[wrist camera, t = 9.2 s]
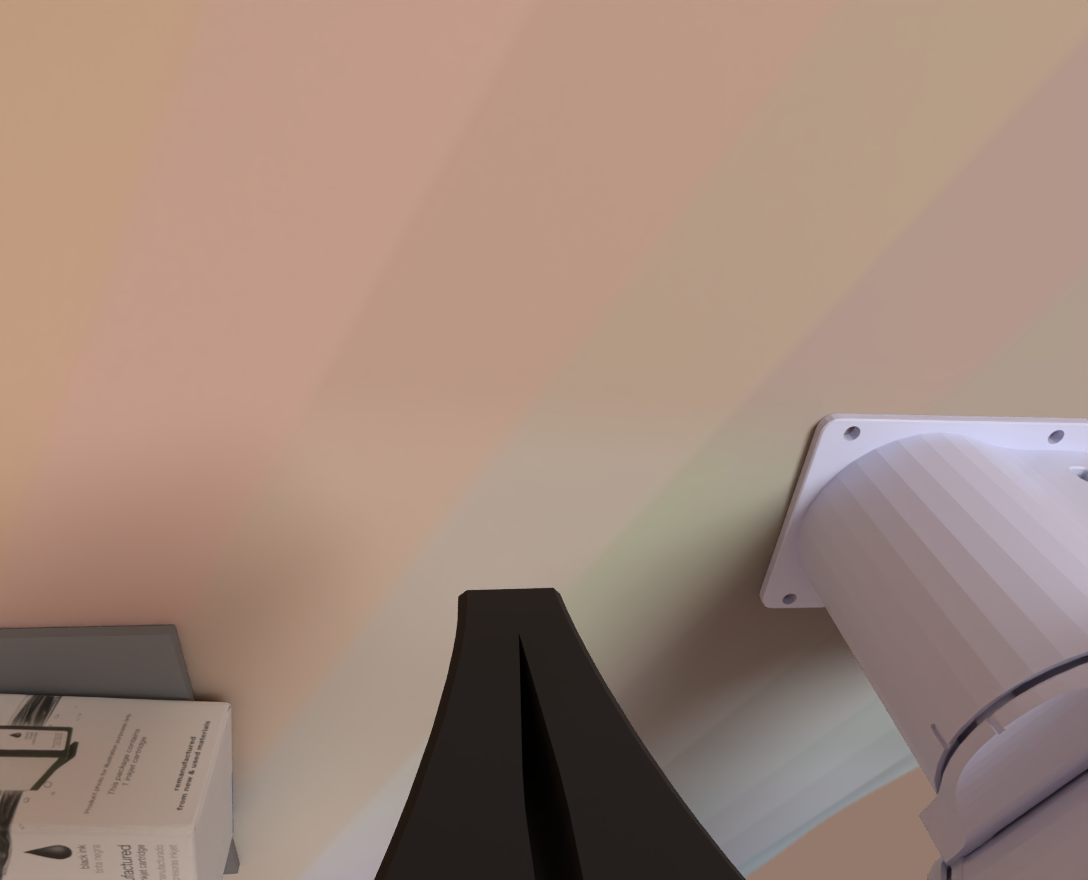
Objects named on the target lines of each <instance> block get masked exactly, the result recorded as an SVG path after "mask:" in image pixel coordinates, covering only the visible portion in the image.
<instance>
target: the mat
mask: <svg viewBox="0 0 1088 880" xmlns="http://www.w3.org/2000/svg"><path fill="white" fill-rule="evenodd" d="M0 694H26V695H46V696H77V697H104V698H125V699H151V700H180V701H195V698H194V694H193V691H192V687H191V683H190V680H189V676H188V672H187V669H186V665H185V661H184V658H183V654H182V650H181V647H180V643H179V639H178V636H177V632H176V628H175V625H158V626H110V627H63V628H15V629H0ZM239 865H240V863H239V859H238V855H237V852H236V848H235V844H234V841H233V837H232V840H231V844H230V848H229V852H228V857H227V861H226V865H225V869H224V873H223V874H236V873H238V869H239Z"/></svg>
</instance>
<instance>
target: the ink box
mask: <svg viewBox="0 0 1088 880" xmlns="http://www.w3.org/2000/svg"><path fill="white" fill-rule="evenodd" d="M232 835H233V781H232V716H231V704H230V703H229V702H209V701H180V700H151V699H125V698H104V697H77V696H46V695H26V694H0V880H222V877H223V873H224V869H225V865H226V861H227V857H228V852H229V848H230V844H231V840H232Z"/></svg>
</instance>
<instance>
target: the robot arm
mask: <svg viewBox="0 0 1088 880" xmlns="http://www.w3.org/2000/svg"><path fill="white" fill-rule="evenodd" d="M853 426H855V428H854V429H853V431H852V432H850V433H849V434H845V435H844V432H845V431H846V430H847V429H848V428H850V427H853ZM1054 431H1055V432H1054ZM1053 432H1054V433H1053ZM1051 433H1053V435H1051ZM1050 435H1051V436H1050ZM1087 452H1088V419H1084V418H1037V417H988V416H939V415H890V414H841V413H836V414H830V415H828V416H826V417H824V418H823V419H822V420H821V421H820V422H819V423H818V425H817V427H816V430H815V432H814V435H813V438H812V441H811V444H810V447H809V450H808V453H807V456H806V459H805V462H804V465H803V467H802V470H801V473H800V476H799V479H798V482H797V485H796V488H795V491H794V494H793V497H792V500H791V503H790V505H789V508H788V511H787V514H786V517H785V520H784V523H783V526H782V529H781V532H780V535H779V538H778V541H777V543H776V546H775V549H774V552H773V555H772V558H771V561H770V564H769V567H768V570H767V573H766V576H765V578H764V581H763V584H762V587H761V590H760V595H759V597H760V599H761V601H762V603H763V604H764V606H766V607H767V608H817V607H825V608H826V609H827V611H828V613H829V614H830V616H831V618H832V619H833V621H834V623H835V624H836V626H837V628H838V629H839V631H840V633H841V635H842V636H843V638H844V640H845V641H846V643H847V645H848V646H849V648H850V650H851V651H852V653H853V655H854V656H855V658H856V660H857V661H858V663H859V665H860V666H861V668H862V670H863V671H864V673H865V675H866V676H867V678H868V680H869V681H870V683H871V685H872V686H873V688H874V690H875V691H876V693H877V695H878V696H879V698H880V700H881V701H882V703H883V705H884V707H885V708H886V710H887V712H888V713H889V715H890V717H891V718H892V720H893V722H894V723H895V725H896V727H897V728H898V730H899V732H900V733H901V735H902V737H903V738H904V740H905V742H906V743H907V745H908V747H909V748H910V750H911V752H912V753H913V755H914V757H915V758H916V760H917V762H918V763H919V765H920V767H921V768H922V770H923V772H924V773H925V775H926V777H927V778H928V780H929V782H930V783H931V785H932V787H933V789H934V790H935V792H936V793H937V796H936V797H935V799H934V800H933V801H932V802H931V803H930V804H929V805H928V806H927V807H926V808H925V809H924V810H923V811H922V812H921V813H920V815H919V817H920V819H921V821H922V822H923V824H924V826H925V828H926V829H927V831H928V833H929V835H930V837H931V838H932V840H933V842H934V844H935V845H936V847H937V849H938V851H939V852H940V854H941V856H942V857H940V858H939V859H938V860H937V861H935V863H934V864H933V866H932V868H931V870H930V871H929V873H928V876H927V880H1088V453H1087ZM788 594H791V595H789V596H787V597H785V596H786V595H788ZM374 880H746V879H745V878H744V877H743V876H742V875H741V873H740V872H739V871H738V870H737V869H736V867H735V866H734V865H733V864H732V863H731V861H730V860H729V859H728V858H727V856H726V855H725V854H724V853H723V851H722V850H721V849H720V848H719V846H718V845H717V844H716V843H715V841H714V840H713V839H712V838H711V836H710V835H709V834H708V832H707V831H706V830H705V829H704V827H703V826H702V825H701V824H700V822H699V821H698V820H697V818H696V817H695V816H694V814H693V813H692V812H691V810H690V809H689V808H688V806H687V805H686V804H685V802H684V801H683V800H682V798H681V797H680V795H679V794H678V793H677V791H676V790H675V789H674V787H673V786H672V784H671V783H670V781H669V780H668V779H667V777H666V776H665V774H664V773H663V771H662V770H661V769H660V767H659V766H658V764H657V763H656V761H655V760H654V758H653V757H652V756H651V754H650V753H649V751H648V750H647V748H646V747H645V745H644V744H643V742H642V741H641V739H640V738H639V736H638V735H637V733H636V731H635V730H634V728H633V727H632V725H631V724H630V722H629V720H628V719H627V717H626V715H625V714H624V712H623V711H622V709H621V707H620V706H619V704H618V703H617V701H616V699H615V698H614V696H613V694H612V693H611V691H610V690H609V688H608V686H607V685H606V683H605V681H604V679H603V678H602V676H601V674H600V672H599V671H598V669H597V667H596V665H595V663H594V662H593V660H592V658H591V656H590V654H589V653H588V651H587V649H586V647H585V645H584V643H583V641H582V639H581V637H580V636H579V634H578V632H577V630H576V628H575V626H574V624H573V622H572V620H571V617H570V615H569V613H568V611H567V609H566V607H565V604H564V602H563V600H562V597H561V595H560V593H558V592H557V591H556V590H555V589H554V588H532V589H496V590H467V591H465V592H464V593H463V594H461V595H460V596H458V621H457V630H456V637H455V643H454V648H453V653H452V657H451V662H450V666H449V671H448V675H447V679H446V683H445V686H444V690H443V693H442V697H441V700H440V704H439V707H438V711H437V714H436V718H435V721H434V725H433V728H432V731H431V734H430V737H429V740H428V743H427V746H426V749H425V752H424V754H423V757H422V760H421V763H420V766H419V768H418V771H417V774H416V777H415V780H414V783H413V785H412V788H411V791H410V794H409V797H408V799H407V802H406V804H405V807H404V809H403V812H402V814H401V817H400V820H399V822H398V825H397V827H396V830H395V832H394V834H393V837H392V839H391V842H390V844H389V847H388V849H387V851H386V854H385V856H384V858H383V861H382V863H381V865H380V868H379V870H378V872H377V874H376V877H375V879H374Z"/></svg>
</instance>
